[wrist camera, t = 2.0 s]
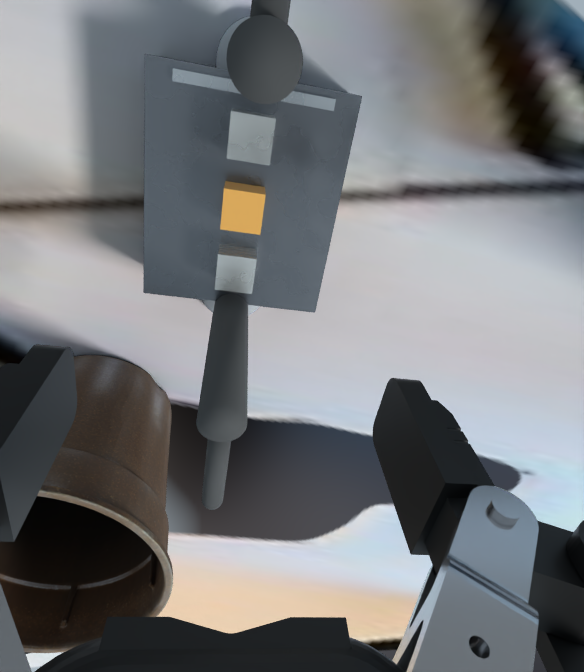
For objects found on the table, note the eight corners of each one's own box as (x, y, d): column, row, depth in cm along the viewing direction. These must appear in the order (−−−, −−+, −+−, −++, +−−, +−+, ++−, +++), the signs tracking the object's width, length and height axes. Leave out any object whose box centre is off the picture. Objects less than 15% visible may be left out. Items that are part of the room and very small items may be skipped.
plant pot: (201, 339, 37) (172, 496, 24) (195, 475, 45) (171, 652, 32) (-10, 323, 35) (-178, 486, 21) (23, 469, 43) (-84, 657, 29)
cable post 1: (269, 260, 34) (281, 386, 21) (253, 363, 39) (254, 522, 25) (202, 251, 34) (170, 376, 20) (195, 358, 38) (164, 518, 25)
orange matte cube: (264, 187, 28) (265, 194, 26) (259, 225, 29) (260, 234, 27) (225, 181, 27) (223, 188, 26) (221, 219, 28) (220, 229, 27)
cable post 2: (319, -74, 25) (405, -252, 11) (290, 117, 29) (325, 157, 16) (228, -96, 24) (198, -320, 10) (213, 103, 29) (180, 133, 15)
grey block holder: (348, 93, 29) (370, 97, 24) (308, 289, 36) (318, 325, 31) (158, 56, 27) (136, 52, 22) (154, 270, 34) (137, 306, 29)
